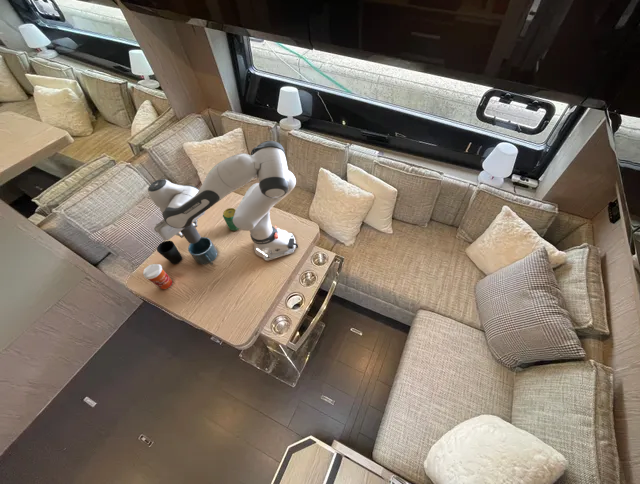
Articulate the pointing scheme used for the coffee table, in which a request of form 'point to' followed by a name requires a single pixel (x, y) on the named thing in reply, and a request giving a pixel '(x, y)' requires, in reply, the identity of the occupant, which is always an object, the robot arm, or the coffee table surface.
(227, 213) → the beverage can
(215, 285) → the coffee table surface
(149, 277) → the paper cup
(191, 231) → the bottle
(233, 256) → the coffee table surface
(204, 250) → the teal ceramic mug
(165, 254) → the cup
